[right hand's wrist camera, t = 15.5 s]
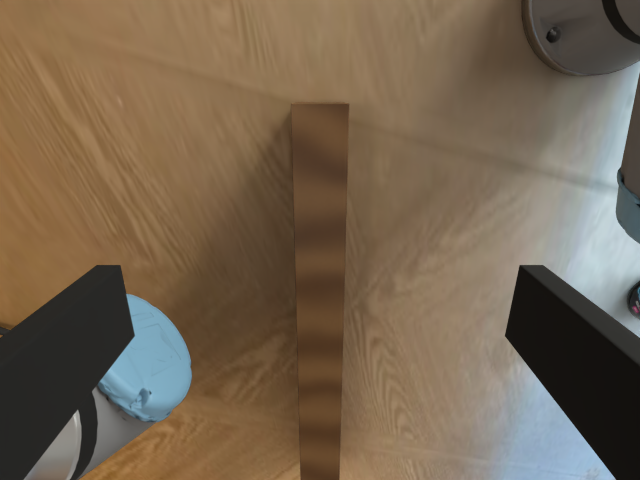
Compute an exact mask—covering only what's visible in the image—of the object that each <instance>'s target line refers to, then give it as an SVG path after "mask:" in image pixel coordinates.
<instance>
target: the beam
mask: <svg viewBox="0 0 640 480" xmlns="http://www.w3.org/2000/svg"><path fill="white" fill-rule="evenodd" d="M291 124H292V162H293V201H294V240H295V278H296V317H297V356H298V394H299V433H300V471H301V480H339V472H340V434H341V396H342V358H343V320H344V281H345V243H346V205H347V167H348V128H349V104H348V103H292V104H291Z"/></svg>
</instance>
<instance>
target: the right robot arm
mask: <svg viewBox="0 0 640 480" xmlns="http://www.w3.org/2000/svg"><path fill="white" fill-rule="evenodd" d="M522 19H523V25H524V30H525V33H526V36H527V39H528V41H529V43H530V45H531V47H532V49H533V50H534V52H535V53H536V54H537V56H538V57H539V58H540V59H541V60H542V61H543V62H544V63H545V64H547V65H548V66H549V67H551V68H553V69H554V70H557V71H559V72H561V73H565V74H568V75H574V76H590V75H601V74H608V73H612V72H616V71H618V70H621V69H624V68H626V67H628V66H630V65H632V64H634V63H636V62H638V61H639V60H640V0H522ZM617 182H618V184H619V188H618V196H617V204H616V217H617V220H618V222H619V224H620V225H621V226H622V228H623V229H624V230H625V231H626V233H627V234H628V235H629V236H630V237H631V238H633V239H634V240H635V241H636V242H638V243H639V244H640V74H639V79H638V84H637V89H636V94H635V100H634V105H633V110H632V115H631V120H630V125H629V130H628V135H627V140H626V145H625V150H624V155H623V160H622V165H621V168H620V169H619V170H618V173H617ZM134 337H135V333H134V329H133V324H132V319H131V314H130V309H129V305H128V300H127V295H126V290H125V286H124V281H123V276H122V271H121V266H120V265H97V266H95V267H94V268H93V269H91V270H90V271H89V272H87V273H86V274H85V275H83V276H82V277H81V278H79V279H78V280H77V281H75V282H74V283H73V284H71V285H70V286H69V287H67V288H66V289H65V290H63V291H62V292H61V293H59V294H58V295H57V296H55V297H54V298H53V299H51V300H50V301H49V302H47V303H46V304H45V305H43V306H42V307H41V308H39V309H38V310H37V311H35V312H34V313H33V314H31V315H30V316H29V317H27V318H26V319H25V320H23V321H22V322H21V323H20V324H18V325H17V326H16V327H14V328H13V329H12V330H10V331H9V332H8V333H6V334H5V335H4V336H2V337H1V338H0V480H24V479H25V477H26V476H27V475H28V473H29V472H30V471H31V470H32V468H33V467H34V466H35V464H36V463H37V462H38V461H39V459H40V458H41V457H42V455H43V454H44V453H45V451H46V450H47V449H48V448H49V446H50V445H51V444H52V442H53V441H54V440H55V439H56V437H57V436H58V435H59V433H60V432H61V431H62V430H63V428H64V427H65V426H66V424H67V423H68V422H69V421H70V419H71V418H72V417H73V415H74V414H75V413H76V411H77V410H78V409H79V408H80V406H81V405H82V404H83V402H84V401H85V400H86V399H87V397H88V396H89V395H90V393H91V392H92V391H93V390H94V388H95V387H96V386H97V384H98V383H99V382H100V380H101V379H102V378H103V377H104V375H105V374H106V373H107V371H108V370H109V369H110V368H111V366H112V365H113V364H114V362H115V361H116V360H117V359H118V357H119V356H120V355H121V353H122V352H123V351H124V350H125V348H126V347H127V346H128V344H129V343H130V342H131V340H132V339H133V338H134ZM505 337H506V338H507V339H508V340H509V342H510V343H511V344H512V346H513V347H514V348H515V350H516V351H517V352H518V353H519V355H520V356H521V357H522V359H523V360H524V361H525V362H526V364H527V365H528V366H529V368H530V369H531V370H532V371H533V373H534V374H535V375H536V377H537V378H538V379H539V380H540V382H541V383H542V384H543V386H544V387H545V388H546V390H547V391H548V392H549V393H550V395H551V396H552V397H553V399H554V400H555V401H556V402H557V404H558V405H559V406H560V408H561V409H562V410H563V411H564V413H565V414H566V415H567V417H568V418H569V419H570V421H571V422H572V423H573V424H574V426H575V427H576V428H577V430H578V431H579V432H580V433H581V435H582V436H583V437H584V439H585V440H586V441H587V442H588V444H589V445H590V446H591V448H592V449H593V450H594V451H595V453H596V454H597V455H598V457H599V458H600V459H601V461H602V462H603V463H604V464H605V466H606V467H607V468H608V470H609V471H610V472H611V473H612V475H613V476H614V477H615V479H616V480H640V338H639V337H638V336H636V335H635V334H634V333H632V332H631V331H630V330H628V329H627V328H626V327H624V326H623V325H622V324H620V323H619V322H618V321H617V320H615V319H614V318H613V317H611V316H610V315H609V314H607V313H606V312H605V311H603V310H602V309H601V308H599V307H598V306H597V305H595V304H594V303H593V302H591V301H590V300H589V299H587V298H586V297H585V296H583V295H582V294H581V293H579V292H578V291H577V290H575V289H574V288H573V287H571V286H570V285H569V284H567V283H566V282H565V281H563V280H562V279H561V278H559V277H558V276H557V275H555V274H554V273H553V272H551V271H550V270H549V269H547V268H546V267H545V266H543V265H520V266H519V271H518V276H517V281H516V286H515V290H514V295H513V300H512V305H511V309H510V314H509V319H508V324H507V329H506V333H505Z"/></svg>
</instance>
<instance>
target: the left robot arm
mask: <svg viewBox="0 0 640 480" xmlns="http://www.w3.org/2000/svg"><path fill="white" fill-rule="evenodd" d="M126 295H127V300H128V305H129V309H130V314H131V319H132V324H133V329H134V333H135V337H134V338H133V339H132V340H131V342H130V343H129V344H128V346H127V347H126V348H125V350H124V351H123V352H122V353H121V355H120V356H119V357H118V359H117V360H116V361H115V362H114V364H113V365H112V366H111V368H110V369H109V370H108V371H107V373H106V374H105V375H104V377H103V378H102V379H101V380H100V382H99V383H98V384H97V386H96V387H95V388H94V390H93V391H92V392H91V393H90V395H89V396H88V397H87V399H86V400H85V401H84V402H83V404H82V405H81V406H80V408H79V409H78V410H77V411H76V413H75V414H74V415H73V417H72V418H71V419H70V421H69V422H68V423H67V424H66V426H65V427H64V428H63V430H62V431H61V432H60V433H59V435H58V436H57V437H56V439H55V440H54V441H53V442H52V444H51V445H50V446H49V448H48V449H47V450H46V451H45V453H44V454H43V455H42V457H41V458H40V459H39V461H38V462H37V463H36V464H35V466H34V467H33V468H32V470H31V471H30V472H29V473H28V475H27V476H26V477H25V479H24V480H79V479H80V478H81V477H83V476H84V475H85V474H86V473H88V472H90V471H91V470H93V469H94V468H95V467H97V466H98V465H99V464H101V463H102V462H103V461H105V460H106V459H107V458H109V457H110V456H111V455H113V454H114V453H116V452H117V451H118V450H120V449H121V448H122V447H124V446H125V445H126V444H128V443H129V442H130V441H132V440H133V439H134V438H136V437H137V436H138V435H140V434H141V433H143V432H144V431H145V430H147V429H148V428H149V427H151V426H152V425H153V424H155V423H156V422H159V421H162V420H164V419H165V418H167V417H168V416H169V415H170V413H171V412H172V409H174V408H175V407H176V406H177V405H178V404H179V403H181V402H182V400H183V399H184V398H185V396H186V394H187V392H188V390H189V387H190V384H191V379H192V372H191V368H190V366H191V359H190V355H189V352H188V349H187V346H186V344H185V342H184V340H183V338H182V336H181V334H180V333H179V331H178V330H177V328H176V327H175V326H174V324H173V323H172V322H171V321H170V320H169V318H168V317H167V316H166V315H165V314H163V313H162V312H161V311H160V310H159V309H158V308H156V307H154V306H152V305H151V304H150V303H148V302H147V301H145V300H143V299H141V298H139V297H136V296H134V295H130V294H126ZM9 331H10V330H8V329H5V328H2V327H0V335H3V336H4V335H5V334H6V333H8V332H9Z"/></svg>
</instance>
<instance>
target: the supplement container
mask: <svg viewBox="0 0 640 480" xmlns="http://www.w3.org/2000/svg"><path fill="white" fill-rule="evenodd" d="M627 304H628V308H629V310H630V312H631V314H632V315H633V316H635V317H636V318H638V319H639V320H640V281H639V282H638V283H637V284H636V285H635V286H634V287H633V288H632V289H631V291H630V293H629V295H628V299H627Z"/></svg>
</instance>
